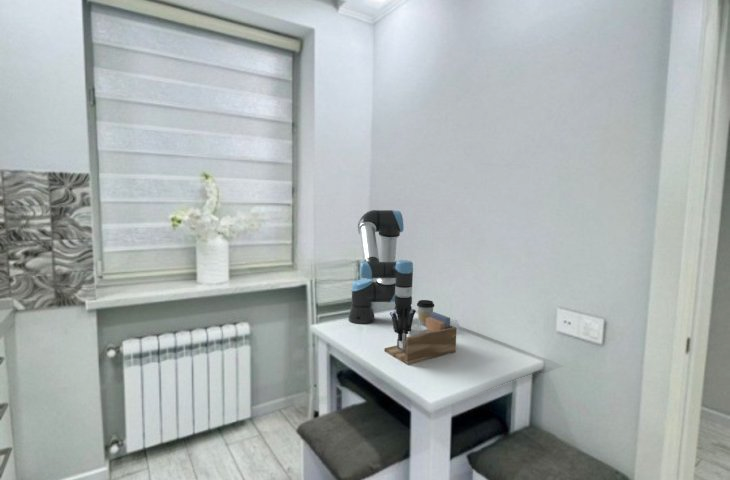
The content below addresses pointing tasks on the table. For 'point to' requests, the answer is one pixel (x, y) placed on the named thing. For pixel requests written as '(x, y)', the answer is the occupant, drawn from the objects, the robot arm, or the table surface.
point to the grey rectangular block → (401, 348)
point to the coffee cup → (424, 310)
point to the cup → (417, 330)
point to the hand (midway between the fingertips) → (402, 347)
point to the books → (437, 322)
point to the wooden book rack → (426, 346)
